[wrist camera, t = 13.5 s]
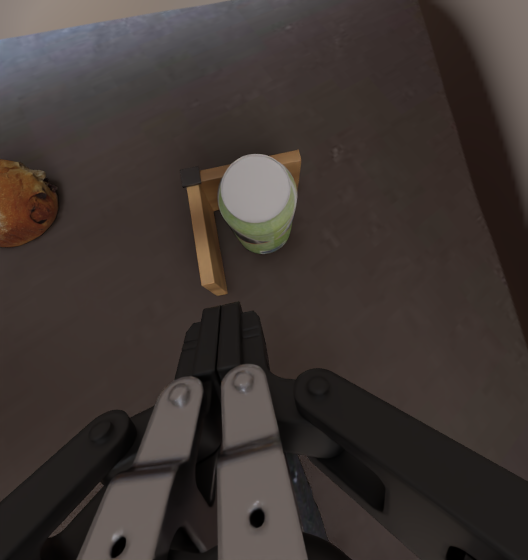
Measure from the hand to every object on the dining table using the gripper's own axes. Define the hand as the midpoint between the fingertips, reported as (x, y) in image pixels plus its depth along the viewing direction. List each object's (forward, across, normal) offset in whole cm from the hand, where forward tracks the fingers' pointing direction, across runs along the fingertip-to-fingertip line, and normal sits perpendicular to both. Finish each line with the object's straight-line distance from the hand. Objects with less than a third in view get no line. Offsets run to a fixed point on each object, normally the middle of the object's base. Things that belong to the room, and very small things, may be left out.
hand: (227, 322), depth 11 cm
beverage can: (+20, -3, +4) cm, 20 cm away
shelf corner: (+20, -2, +3) cm, 20 cm away
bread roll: (+26, +25, -4) cm, 37 cm away
